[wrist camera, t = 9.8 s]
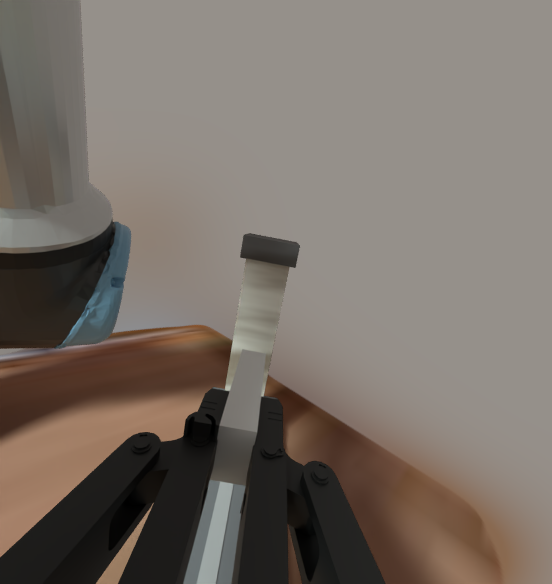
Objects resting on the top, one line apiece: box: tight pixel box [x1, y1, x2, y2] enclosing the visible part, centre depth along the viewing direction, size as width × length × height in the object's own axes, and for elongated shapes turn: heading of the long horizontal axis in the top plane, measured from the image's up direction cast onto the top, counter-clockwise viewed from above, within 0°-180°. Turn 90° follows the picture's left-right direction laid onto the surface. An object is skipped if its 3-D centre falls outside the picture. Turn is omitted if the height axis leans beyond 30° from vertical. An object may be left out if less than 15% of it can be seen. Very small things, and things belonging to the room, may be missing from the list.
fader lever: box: [225, 234, 300, 397], centre depth 29 cm, size 5×5×21 cm
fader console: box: [183, 387, 277, 584], centre depth 26 cm, size 26×9×2 cm, turn 179°
